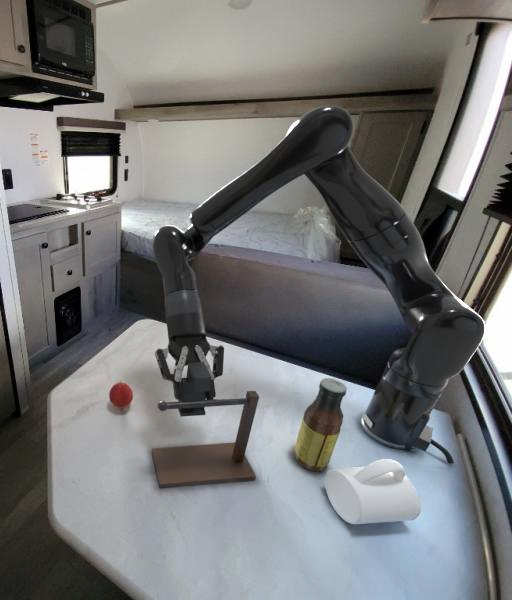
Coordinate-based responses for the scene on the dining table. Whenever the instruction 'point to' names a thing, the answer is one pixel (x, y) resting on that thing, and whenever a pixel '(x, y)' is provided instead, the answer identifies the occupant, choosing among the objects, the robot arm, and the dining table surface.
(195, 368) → the grey hanging weight
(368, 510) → the mug
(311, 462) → the sauce bottle
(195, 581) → the dining table surface
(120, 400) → the red rounded oval body
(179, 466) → the rack
